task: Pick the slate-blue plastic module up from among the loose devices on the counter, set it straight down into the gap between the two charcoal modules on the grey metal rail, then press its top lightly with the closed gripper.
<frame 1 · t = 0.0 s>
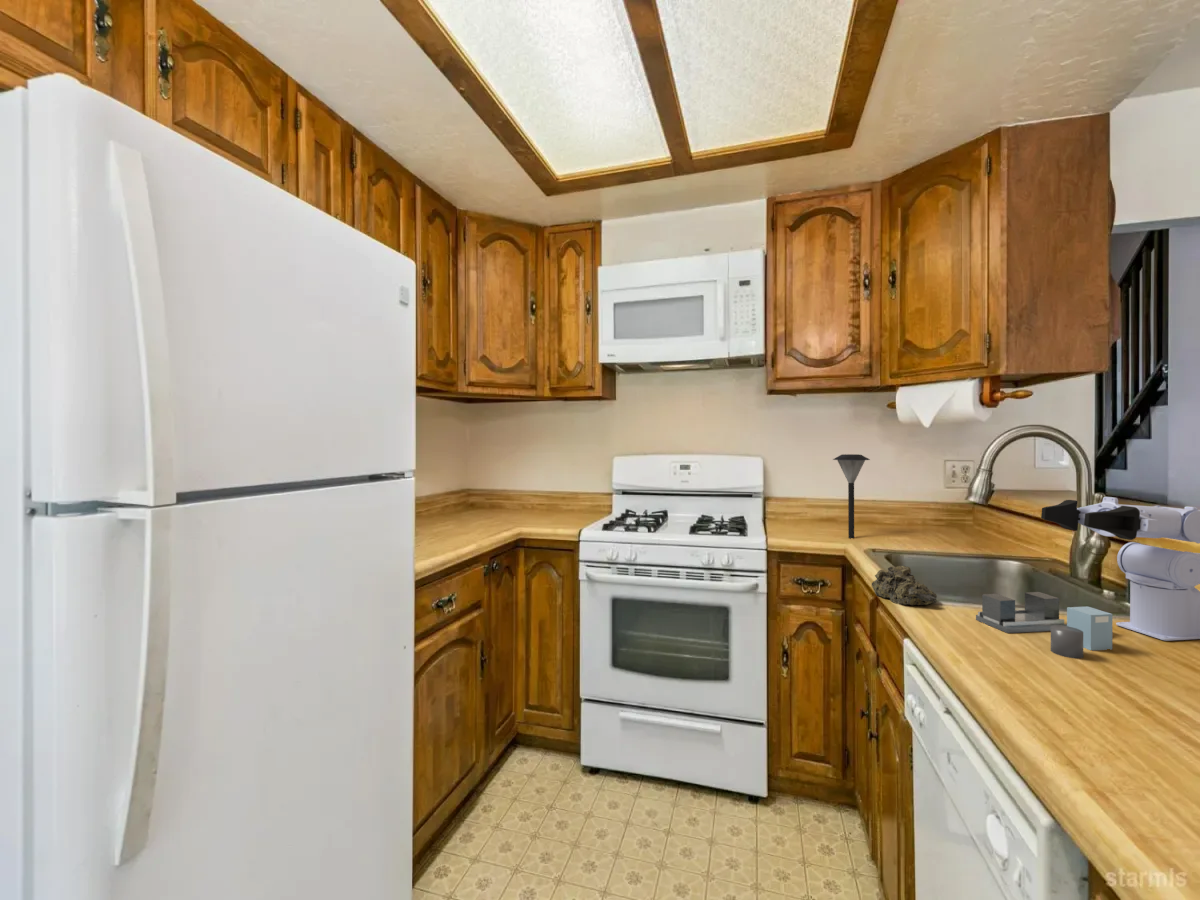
hand: (1063, 516, 91), 22 cm above the counter, tool horizontal, fingers open, 7 cm apart
grey rounded cylinder: (1066, 653, 85), on the counter
rail base: (1020, 624, 98), on the counter
solar garden light: (851, 538, 183), on the counter
module: (1089, 645, 88), on the counter
rock: (903, 600, 114), on the counter
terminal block: (1087, 632, 94), on the counter
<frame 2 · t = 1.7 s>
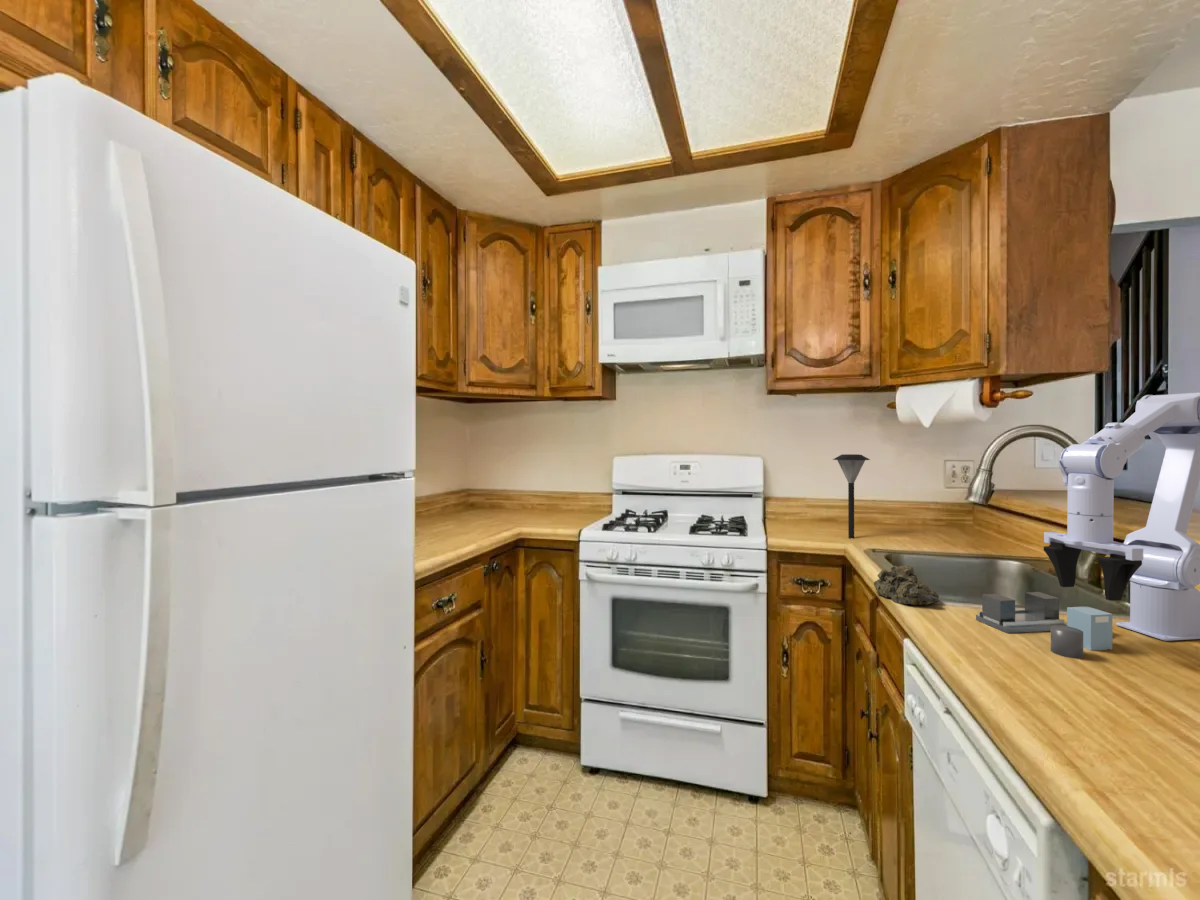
hand: (1089, 592, 88), 9 cm above the counter, tool pointing down, fingers open, 7 cm apart
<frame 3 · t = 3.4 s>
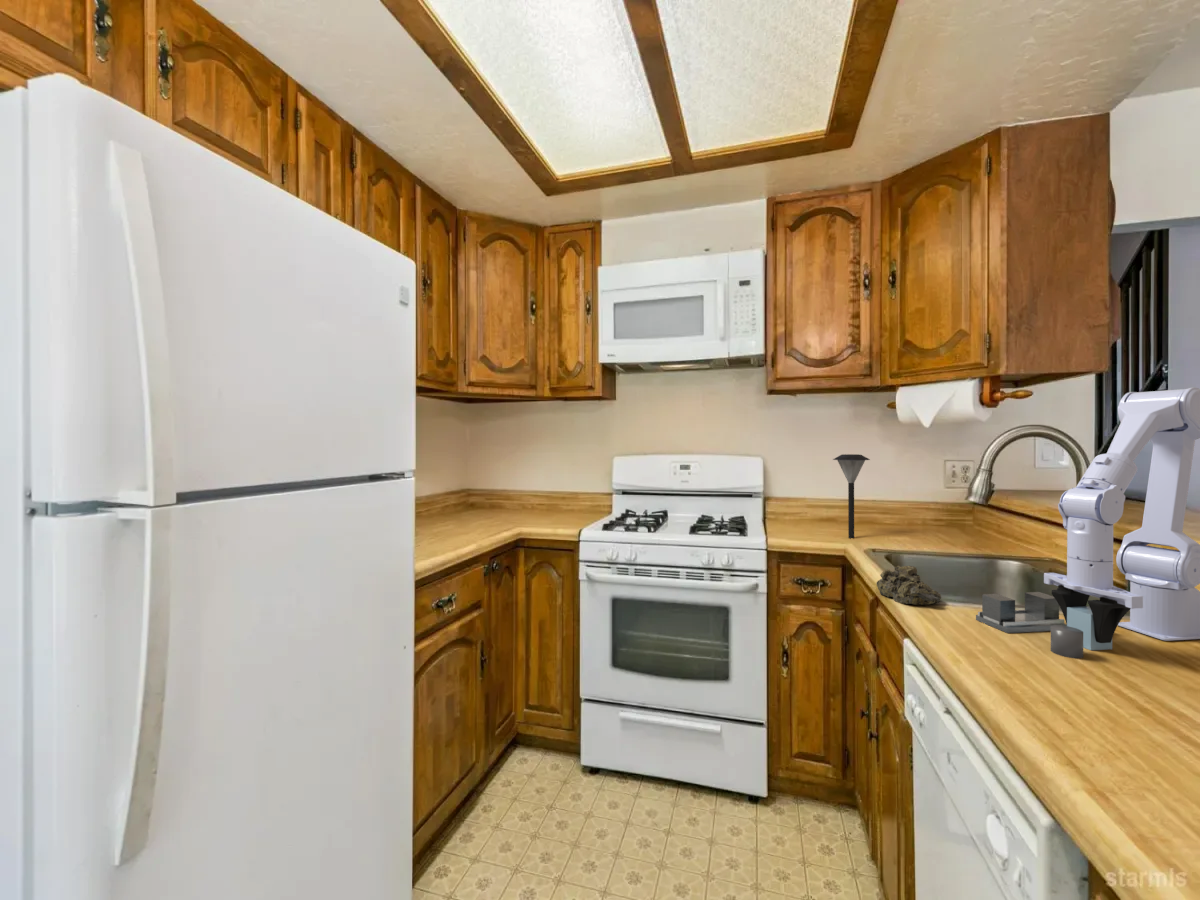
hand: (1089, 636, 88), 1 cm above the counter, tool pointing down, fingers closed on module, 4 cm apart
module: (1089, 645, 88), on the counter, touching gripper
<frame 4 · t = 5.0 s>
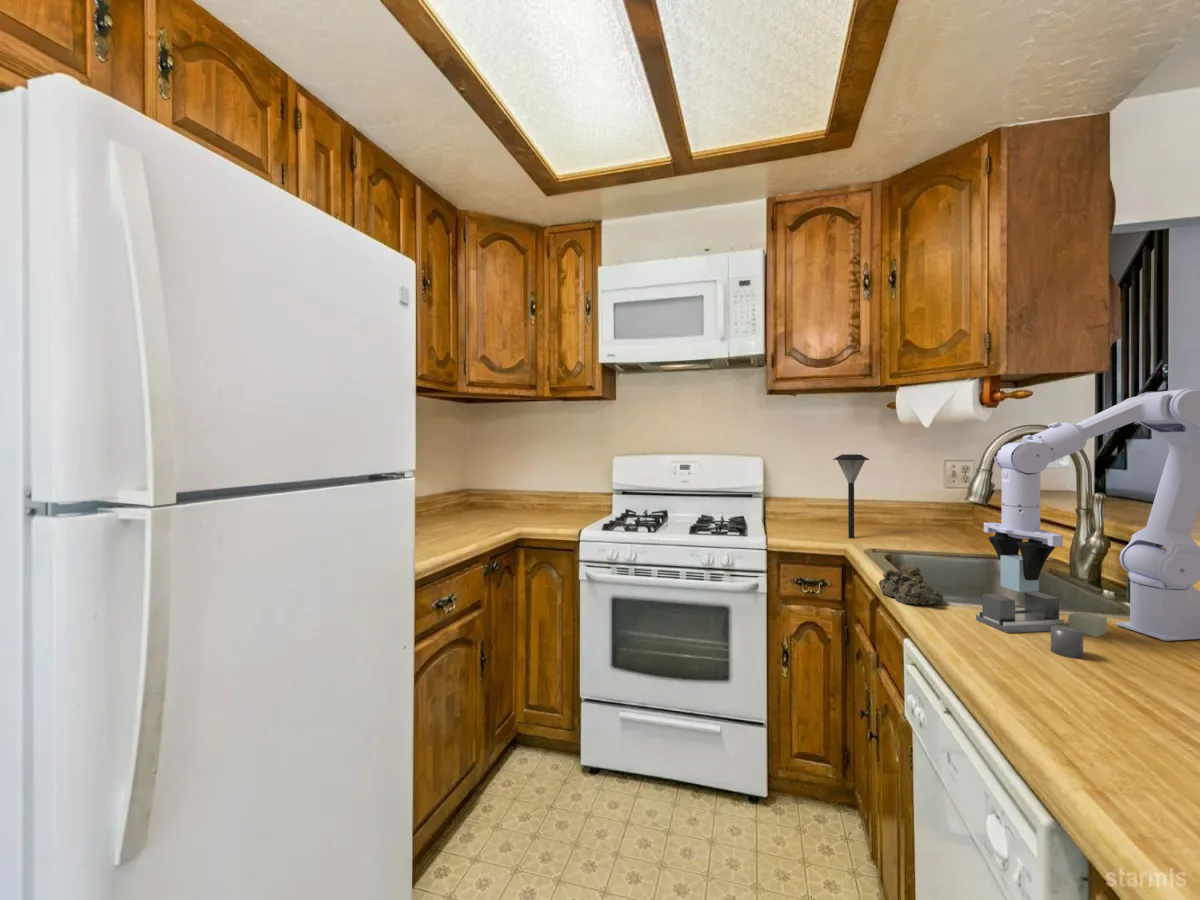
hand: (1020, 576, 97), 9 cm above the counter, tool pointing down, fingers closed on module, 4 cm apart
module: (1019, 588, 97), point 7 cm above the counter, touching gripper
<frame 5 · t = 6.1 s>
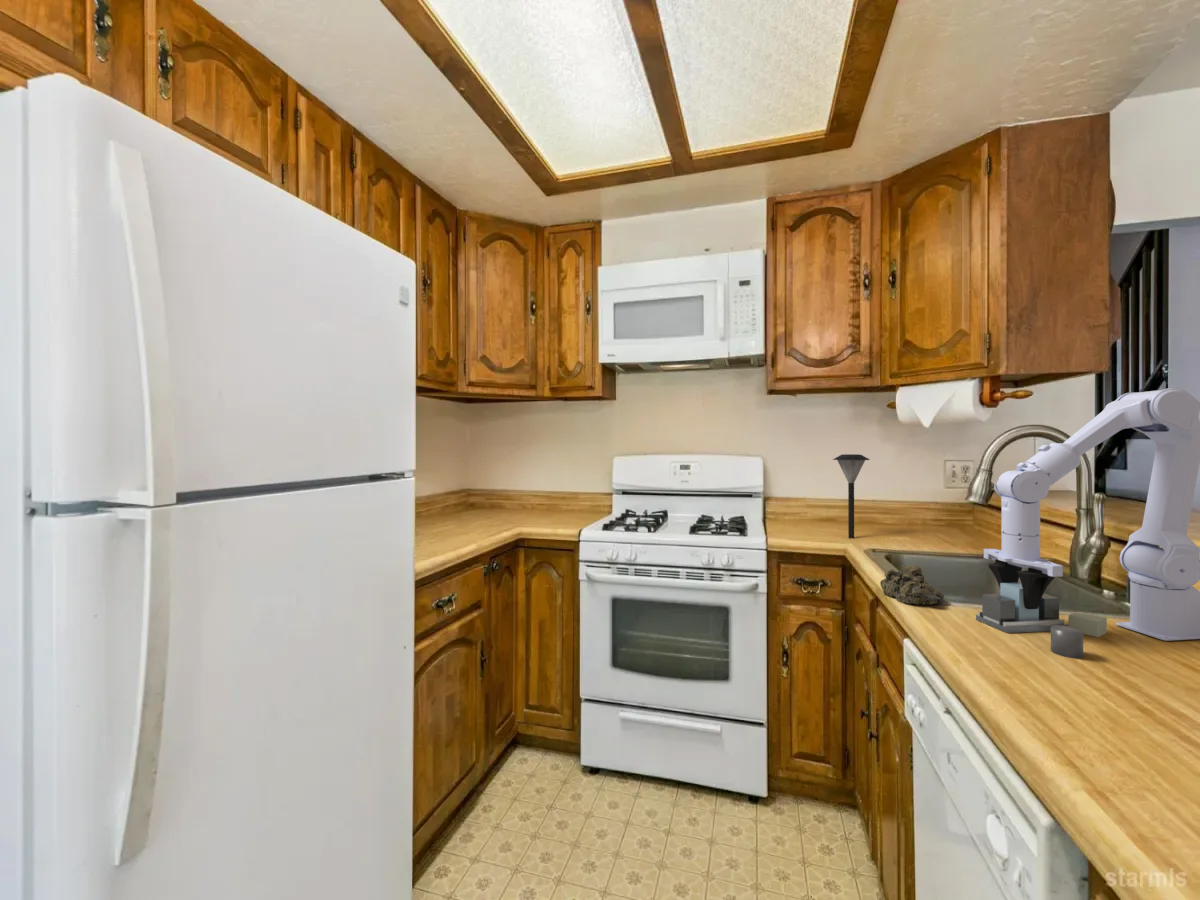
hand: (1020, 604, 98), 4 cm above the counter, tool pointing down, fingers closed on module, 4 cm apart
module: (1019, 616, 98), point 2 cm above the counter, touching gripper
when the fingers open (4 cm above the counter, at t = 6.8 s): module stays where it is, resting on rail base.
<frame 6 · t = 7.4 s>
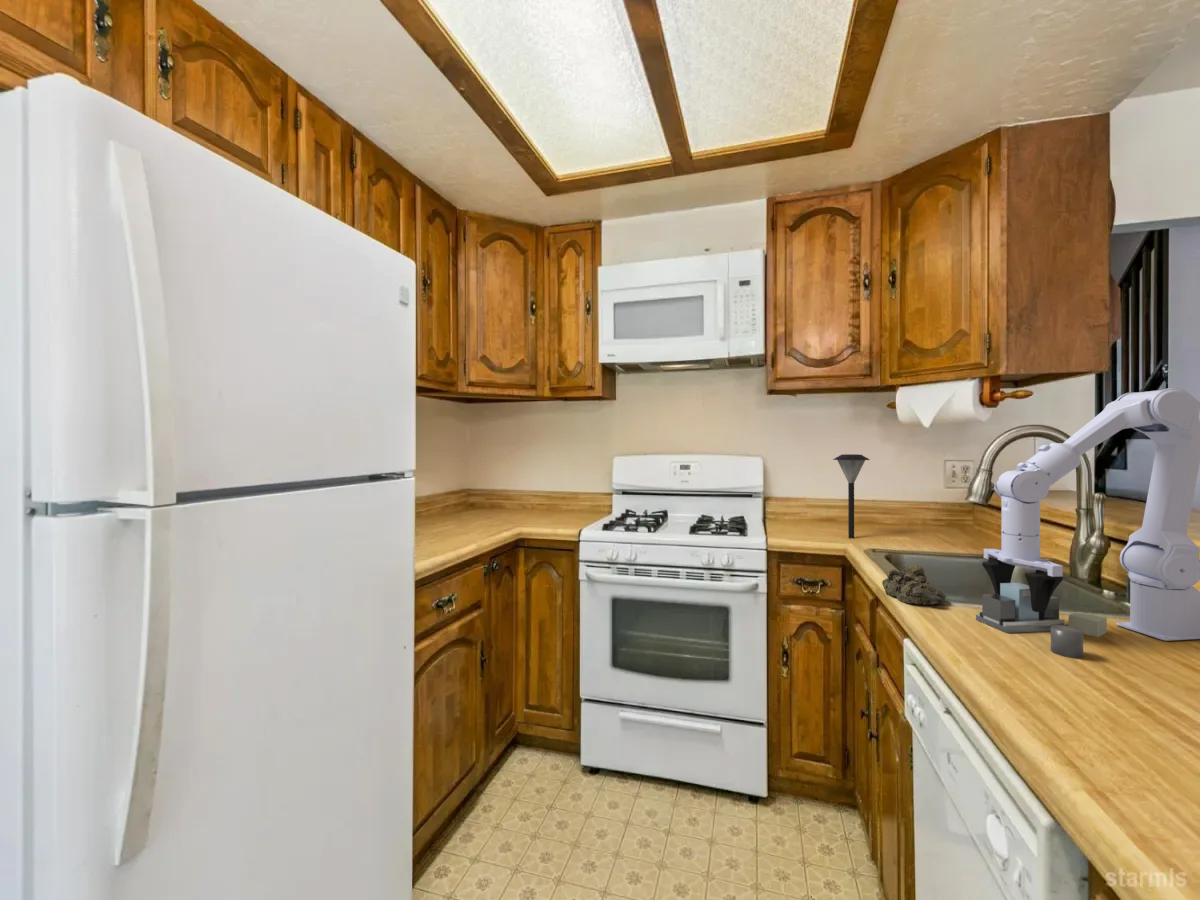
hand: (1020, 604, 98), 4 cm above the counter, tool pointing down, fingers open, 7 cm apart
module: (1019, 617, 98), point 1 cm above the counter, touching rail base
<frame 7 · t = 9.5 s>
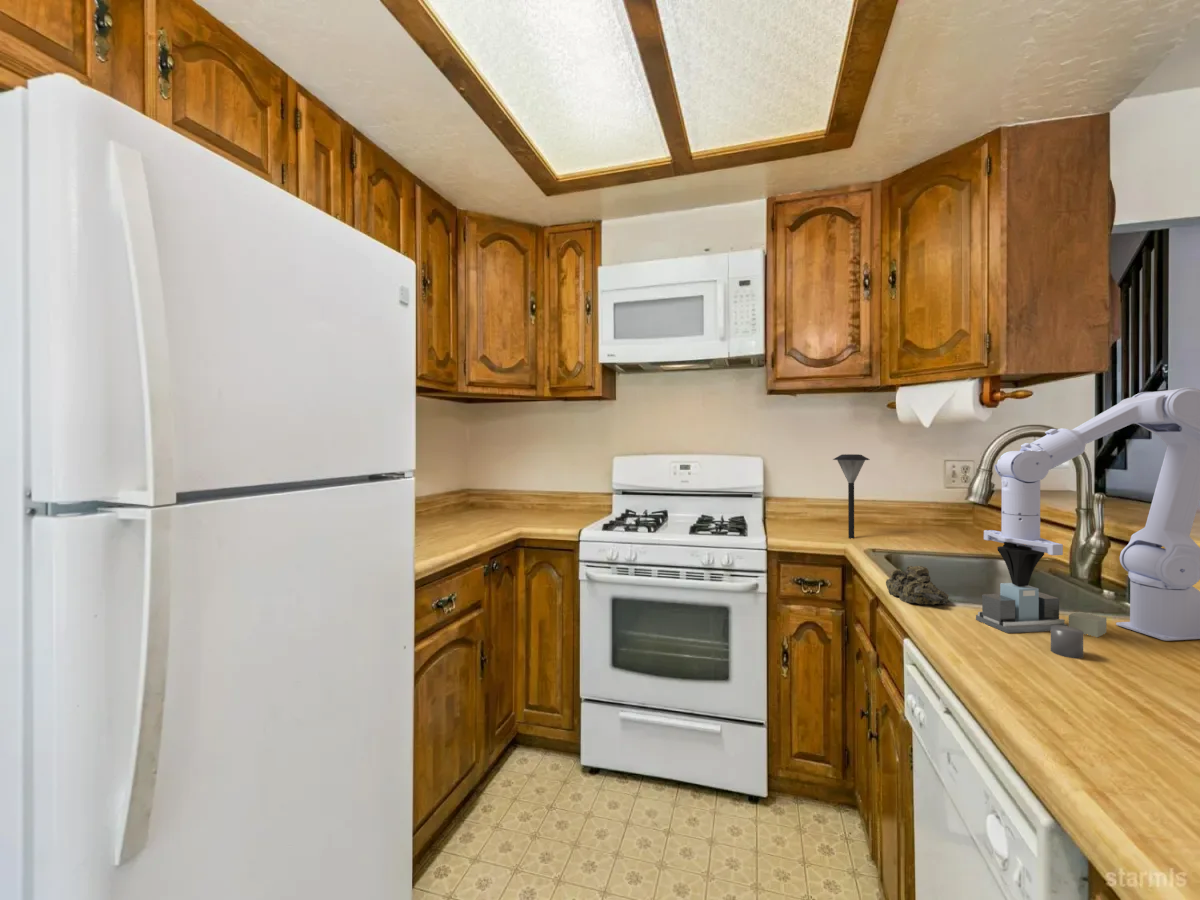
hand: (1020, 584, 97), 8 cm above the counter, tool pointing down, fingers closed
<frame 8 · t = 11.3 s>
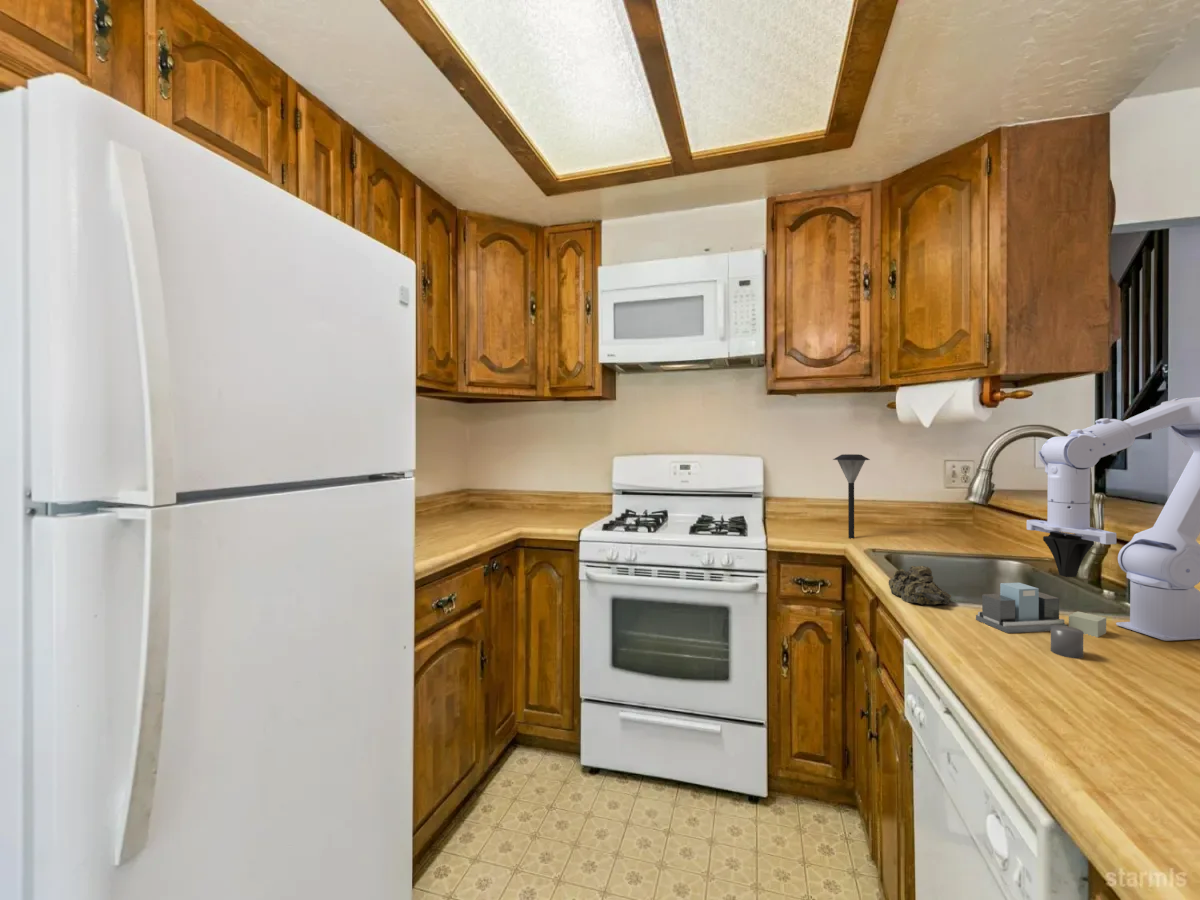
hand: (1067, 576, 93), 10 cm above the counter, tool pointing down, fingers closed
at the end: module 0.2 cm off-centre on the rail base, point 1.5 cm above the rail base's base; module tilted 0°; the gripper is holding nothing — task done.
